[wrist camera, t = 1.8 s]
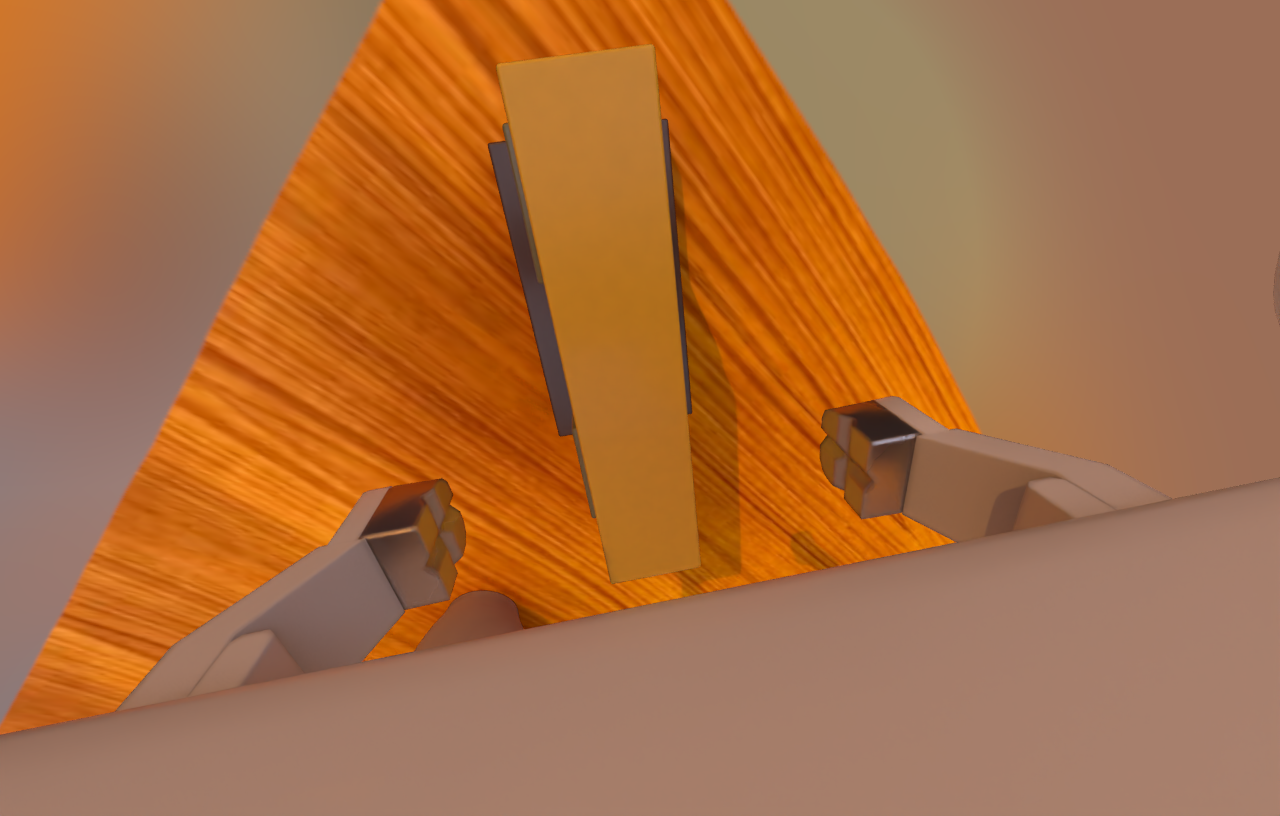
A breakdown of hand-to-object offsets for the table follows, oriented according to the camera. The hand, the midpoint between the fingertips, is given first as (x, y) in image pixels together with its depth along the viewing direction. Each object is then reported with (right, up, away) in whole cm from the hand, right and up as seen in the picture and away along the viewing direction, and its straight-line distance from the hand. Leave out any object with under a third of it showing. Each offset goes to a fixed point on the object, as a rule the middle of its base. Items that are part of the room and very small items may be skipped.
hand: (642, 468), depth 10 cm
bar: (-1, +3, +6) cm, 7 cm away
